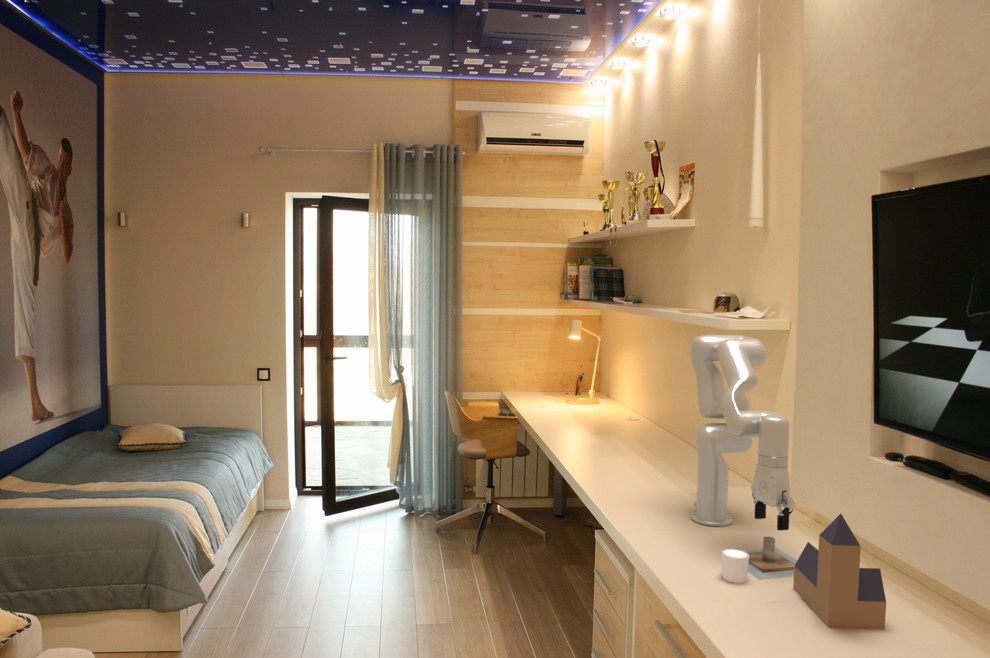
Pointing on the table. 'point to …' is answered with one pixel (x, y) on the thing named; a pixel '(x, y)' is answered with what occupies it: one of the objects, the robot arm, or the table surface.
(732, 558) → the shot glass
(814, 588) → the toy building blocks
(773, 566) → the lid
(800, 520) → the table surface
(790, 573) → the mat
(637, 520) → the table surface
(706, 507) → the robot arm
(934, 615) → the table surface
